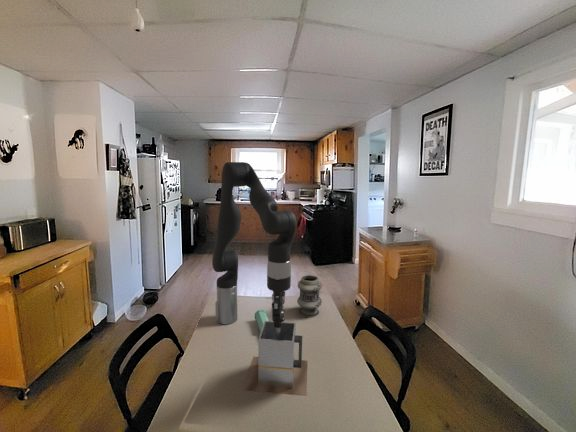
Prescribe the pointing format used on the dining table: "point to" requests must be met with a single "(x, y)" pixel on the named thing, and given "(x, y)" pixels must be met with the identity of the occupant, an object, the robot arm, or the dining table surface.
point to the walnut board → (297, 389)
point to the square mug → (278, 355)
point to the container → (261, 318)
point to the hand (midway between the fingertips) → (278, 323)
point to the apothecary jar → (309, 295)
